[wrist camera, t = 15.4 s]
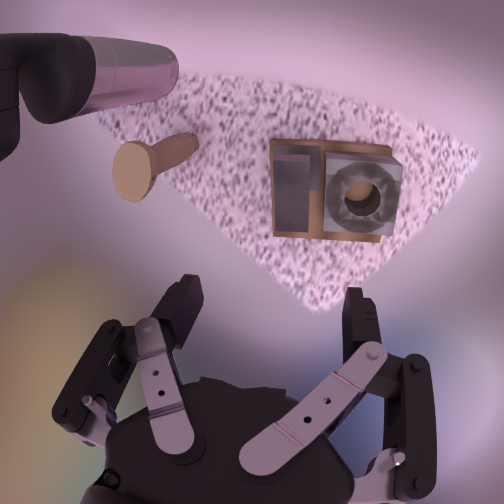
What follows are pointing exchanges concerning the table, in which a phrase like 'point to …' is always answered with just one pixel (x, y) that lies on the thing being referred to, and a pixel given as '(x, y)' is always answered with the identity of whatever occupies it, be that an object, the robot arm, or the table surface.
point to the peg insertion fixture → (345, 189)
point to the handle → (148, 163)
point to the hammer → (291, 192)
